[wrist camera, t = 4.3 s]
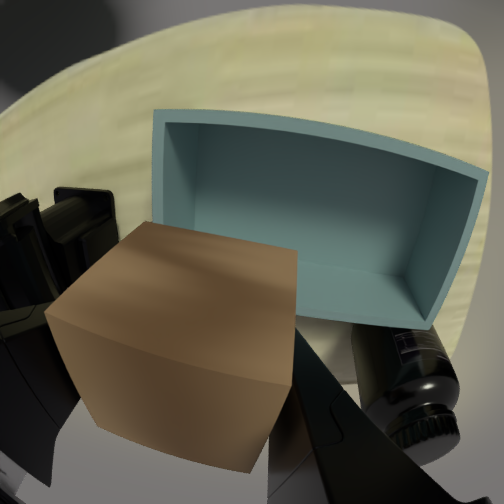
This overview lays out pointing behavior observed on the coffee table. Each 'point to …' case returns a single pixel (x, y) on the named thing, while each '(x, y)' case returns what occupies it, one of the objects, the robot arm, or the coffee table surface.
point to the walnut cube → (183, 342)
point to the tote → (323, 207)
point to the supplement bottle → (407, 388)
